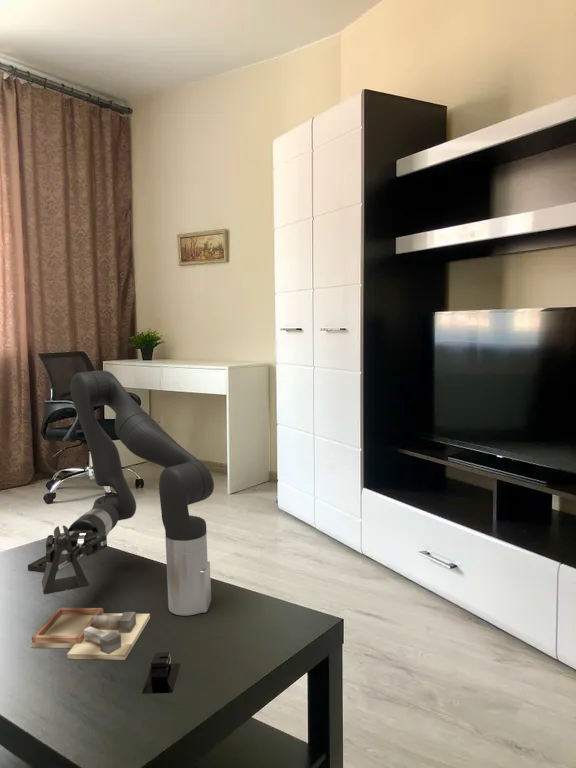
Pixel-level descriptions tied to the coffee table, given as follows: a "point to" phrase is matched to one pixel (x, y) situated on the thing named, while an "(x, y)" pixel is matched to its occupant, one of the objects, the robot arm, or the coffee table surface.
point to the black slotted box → (161, 675)
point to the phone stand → (51, 569)
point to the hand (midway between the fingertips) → (59, 558)
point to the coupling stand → (91, 633)
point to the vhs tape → (43, 562)
